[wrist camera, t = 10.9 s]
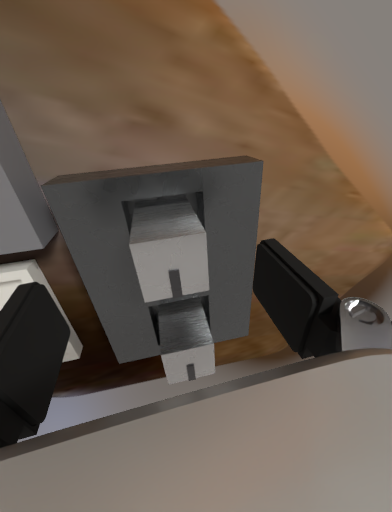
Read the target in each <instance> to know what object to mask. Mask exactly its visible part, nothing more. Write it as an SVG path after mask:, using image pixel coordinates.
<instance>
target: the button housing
mask: <svg viewBox="0 0 392 512" xmlns="http://www.w3.org/2000/svg"><path fill="white" fill-rule="evenodd" d="M57 232H58V228H57V226H56V224H55V221H54V219H53V217H52V215H51V212H50V210H49V208H48V206H47V203H46V201H45V199H44V197H43V194H42V192H41V190H40V188H39V186H38V183H37V181H36V179H35V177H34V174H33V172H32V170H31V168H30V165H29V163H28V161H27V159H26V156H25V154H24V152H23V150H22V147H21V145H20V143H19V141H18V138H17V136H16V134H15V132H14V129H13V127H12V125H11V123H10V120H9V118H8V116H7V114H6V112H5V109H4V107H3V105H2V103H1V100H0V255H2V254H9V253H16V252H23V251H30V250H36V249H43V248H44V247H45V246H46V245H47V244H48V243H49V241H50V240H51V239H52V238H53V236H54V235H55V234H56V233H57Z"/></svg>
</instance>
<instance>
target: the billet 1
mask: <svg viewBox="0 0 392 512" xmlns="http://www.w3.org/2000/svg"><path fill="white" fill-rule="evenodd" d="M129 246H130V250H131V254H132V257H133V261H134V265H135V268H136V272H137V276H138V279H139V283H140V287H141V290H142V294H143V298H144V301H145V303H146V302H151V301H156V300H161V299H167V298H172V297H173V298H178V297H183V295H187V294H193V293H198V292H203V291H208V290H209V275H208V257H207V239H206V231H205V230H204V228H203V226H202V224H201V222H200V221H199V219H198V217H197V215H196V214H195V212H194V210H193V208H192V206H191V205H190V203H189V201H188V199H187V198H186V196H182V197H174V198H167V199H159V200H152V201H144V202H137V203H135V205H134V212H133V220H132V227H131V234H130V241H129Z"/></svg>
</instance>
